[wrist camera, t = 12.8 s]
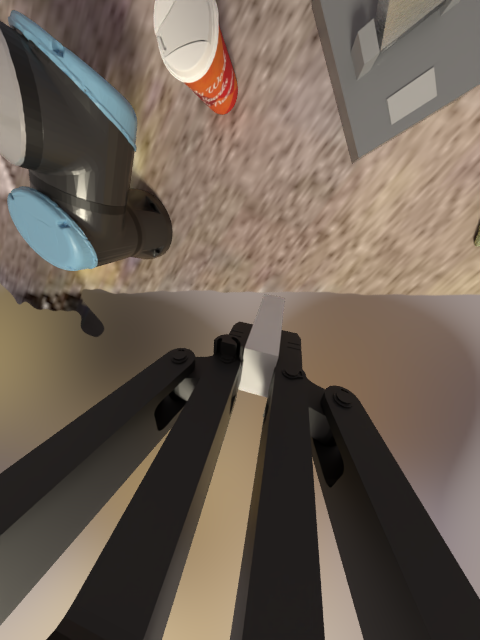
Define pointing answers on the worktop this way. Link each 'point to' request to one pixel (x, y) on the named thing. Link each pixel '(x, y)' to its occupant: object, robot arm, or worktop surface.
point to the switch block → (396, 68)
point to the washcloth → (477, 238)
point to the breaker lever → (401, 19)
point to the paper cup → (196, 50)
